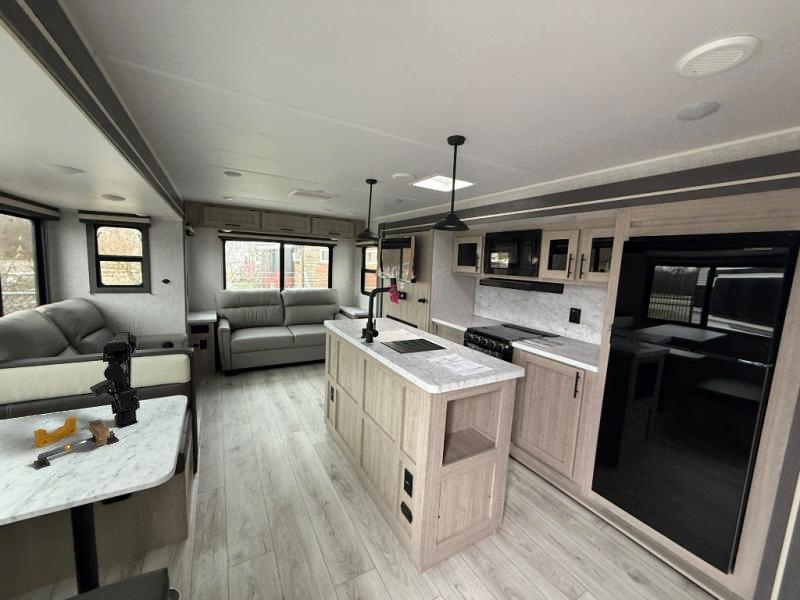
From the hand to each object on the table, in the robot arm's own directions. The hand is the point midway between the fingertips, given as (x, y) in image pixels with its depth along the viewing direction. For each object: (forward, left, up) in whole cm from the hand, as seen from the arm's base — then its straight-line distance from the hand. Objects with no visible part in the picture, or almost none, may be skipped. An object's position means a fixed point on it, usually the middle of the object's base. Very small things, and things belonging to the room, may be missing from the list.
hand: (120, 409), depth 131 cm
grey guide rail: (+13, 0, -12) cm, 18 cm away
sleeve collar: (+7, 0, -12) cm, 14 cm away
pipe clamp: (+16, -19, -12) cm, 28 cm away
